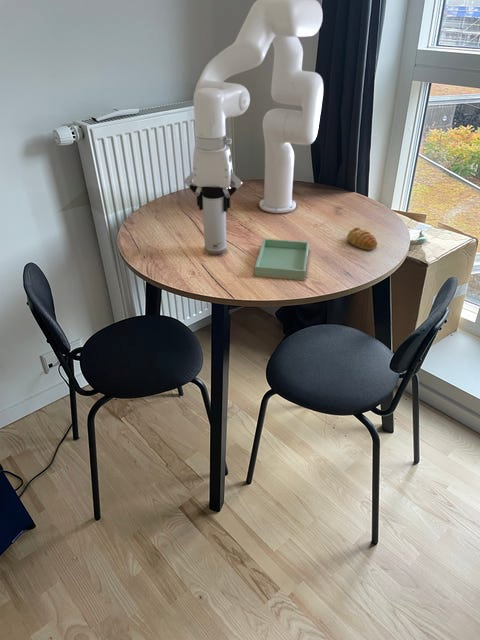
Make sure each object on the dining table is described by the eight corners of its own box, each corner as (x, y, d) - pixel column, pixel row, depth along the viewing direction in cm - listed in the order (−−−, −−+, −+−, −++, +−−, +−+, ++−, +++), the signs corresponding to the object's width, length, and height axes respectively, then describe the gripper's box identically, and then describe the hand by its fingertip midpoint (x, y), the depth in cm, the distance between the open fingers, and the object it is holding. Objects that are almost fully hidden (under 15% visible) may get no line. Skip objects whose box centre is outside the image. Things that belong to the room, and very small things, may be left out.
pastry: (382, 247, 142) (384, 235, 140) (365, 253, 140) (367, 241, 137) (360, 235, 149) (362, 224, 147) (343, 241, 146) (345, 229, 144)
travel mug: (219, 257, 137) (217, 188, 125) (200, 251, 140) (196, 183, 128) (231, 248, 141) (230, 181, 130) (212, 242, 144) (210, 176, 132)
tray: (263, 247, 143) (263, 238, 141) (308, 250, 141) (309, 241, 140) (254, 276, 129) (254, 266, 128) (304, 280, 127) (305, 271, 126)
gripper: (247, 139, 124) (247, 205, 135) (182, 136, 127) (187, 202, 138) (242, 148, 118) (242, 216, 129) (173, 145, 121) (180, 212, 132)
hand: (214, 208), depth 133 cm, fingers closed on travel mug, 6 cm apart
